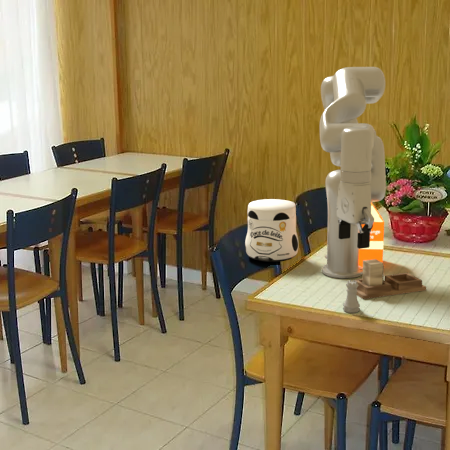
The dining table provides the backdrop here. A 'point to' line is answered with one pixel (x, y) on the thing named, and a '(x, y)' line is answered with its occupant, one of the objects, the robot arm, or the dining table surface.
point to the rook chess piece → (351, 298)
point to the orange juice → (374, 239)
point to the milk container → (271, 230)
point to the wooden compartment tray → (385, 282)
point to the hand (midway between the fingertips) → (353, 243)
